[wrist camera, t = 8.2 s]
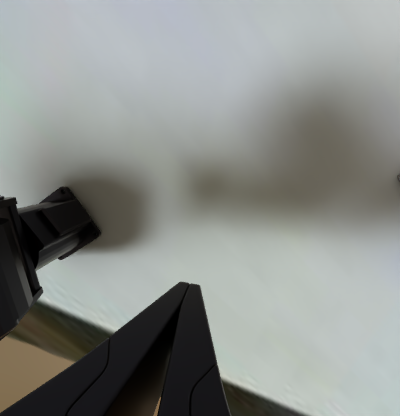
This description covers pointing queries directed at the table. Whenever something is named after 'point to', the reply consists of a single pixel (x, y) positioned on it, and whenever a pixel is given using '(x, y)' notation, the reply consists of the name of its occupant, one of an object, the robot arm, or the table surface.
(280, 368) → the table surface
